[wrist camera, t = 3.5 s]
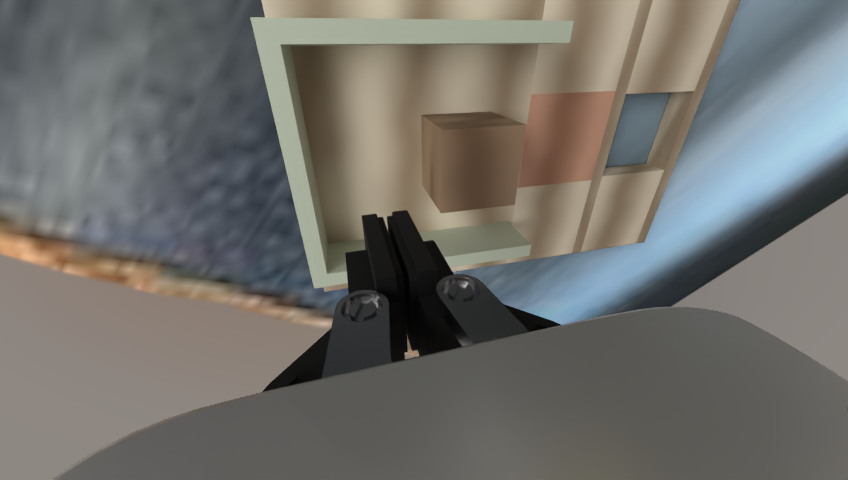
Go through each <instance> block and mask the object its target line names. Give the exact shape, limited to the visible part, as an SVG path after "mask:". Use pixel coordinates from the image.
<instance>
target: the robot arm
mask: <svg viewBox="0 0 848 480" xmlns="http://www.w3.org/2000/svg"><path fill="white" fill-rule="evenodd" d="M362 224H363V232H364V241H365V249H366V250H359V251H352V252H345V257H346V268H347V279H348V290H349V294H348V295H346V296H345V297H343V298H342V299H341V300H340V301H339V302H338V303H337V306H336V308H335V313H334V318H333V323H332V328H331V329H330V330H329V331H328V332H327V333H326V334H324V335H323V336H322V337H321V338H320V339H319V340H318V341H317V342H316V343H314V344H313V345H312V346H311V347H310V348H309V349H308V350H307V351H306V352H305V353H303V354H302V355H301V356H300V357H299V358H298V359H297V360H295V361H294V362H293V363H292V364H291V365H290V366H289V367H288V368H287V369H285V370H284V371H283V372H282V373H281V374H280V375H279V376H278V377H276V378H275V379H274V380H273V381H272V382H271V383H270V384H269V385H268V386H267V387H266V388H265V389H264V390H263V392H261V393H256V394H252V395H249V396H245V397H241V398H237V399H234V400H229V401H226V402H222V403H218V404H214V405H210V406H206V407H203V408H199V409H196V410H192V411H189V412H186V413H183V414H180V415H177V416H174V417H171V418H168V419H165V420H162V421H160V422H157V423H155V424H152V425H150V426H148V427H145V428H143V429H140V430H138V431H135V432H133V433H130V434H129V435H127V436H124V437H122V438H120V439H118V440H116V441H114V442H112V443H111V444H109V445H107V446H105V447H103V448H101V449H99V450H97V451H95V452H93V453H91V454H89V455H88V456H86V457H84V458H82V459H81V460H79V461H77V462H76V463H74V464H72V465H71V466H69V467H68V468H66V469H65V470H63V471H62V472H60V473H59V474H57V475H55V476H54V477H52V478H51V479H50V480H848V381H847V380H845V379H844V378H842V377H840V376H839V375H837V374H836V373H834V372H833V371H831V370H829V369H828V368H826V367H825V366H823V365H821V364H820V363H818V362H817V361H815V360H813V359H812V358H810V357H809V356H807V355H805V354H804V353H802V352H800V351H799V350H797V349H795V348H794V347H792V346H790V345H789V344H787V343H785V342H783V341H782V340H780V339H779V338H777V337H775V336H773V335H772V334H769V333H768V332H766V331H764V330H762V329H761V328H759V327H757V326H755V325H753V324H751V323H749V322H747V321H745V320H743V319H741V318H739V317H736V316H734V315H731V314H727V313H723V312H718V311H713V310H708V309H700V308H689V307H657V308H647V309H639V310H634V311H628V312H623V313H617V314H612V315H606V316H602V317H597V318H592V319H588V320H583V321H578V322H574V323H569V324H564V325H560V324H558V323H556V322H554V321H551V320H548V319H545V318H542V317H539V316H536V315H533V314H530V313H527V312H524V311H521V310H519V309H516V308H513V307H510V306H507V305H504V304H502V303H501V302H500V300H499V299H498V298H497V297H496V296H495V295H494V294H493V293H492V292H491V291H490V290H489V289H488V288H487V287H486V286H485V285H484V284H483V283H482V282H481V281H480V280H478V279H477V278H474V277H472V276H469V275H464V274H455V275H454V274H453V272H452V270H451V268H450V267H449V265H448V263H447V262H446V260H445V258H444V256H443V255H442V253H441V251H440V250H439V248H438V246H437V244H436V243H435V241H434V240H429V241H423V239H422V237H421V236H420V234H419V232H418V230H417V228H416V226H415V224H414V222H413V220H412V218H411V216H410V214H409V213H408V211H407V210H403V211H394V212H392V216H387V225H388V230H387V227H386V224H385V221H384V218H383V217H378V216H377V214H369V215H362ZM407 335H408V339H409V342H410V346H411V349H412V351H414V350H418V352H419V357H414V358H410V359H405V354H404V352H407Z"/></svg>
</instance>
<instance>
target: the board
mask: <svg viewBox="0 0 848 480" xmlns="http://www.w3.org/2000/svg"><path fill="white" fill-rule="evenodd" d="M739 3H740V0H262V5H263V9H264V14H265V18H353V19H449V20H545V21H574V23H573V28H572V33H571V39H570V43H555V44H533V45H382V46H291V51H292V57H293V62H294V67H295V72H296V78H297V83H298V88H299V93H300V99H301V104H302V109H303V114H304V120H305V125H306V130H307V135H308V141H309V146H310V151H311V156H312V162H313V167H314V172H315V178H316V183H317V188H318V193H319V199H320V204H321V209H322V214H323V220H324V225H325V230H326V235H327V241H328V244H331V243H339V242H347V241H355V240H363V239H364V232H363V224H362V215H369V214H377V216H378V217H383V218H384V221H385V224H386V227H387V230H388V225H387V216H392V212H394V211H403V210H407V211H408V213H409V214H410V216H411V218H412V220H413V222H414V224H415V226H416V228H417V230H418V232H426V231H434V230H442V229H450V228H458V227H466V226H474V225H482V224H490V223H498V222H505V221H508V222H509V223H510V224H511V225H512V226H513V227H514V228H515V229H516V230H517V231H518V232H519V233H520V234H521V235H522V236H523V237H524V238H525V239H526V240H527V241H528V242H529V243H530V244H531V249H530V255H529V256H524V257H517V258H510V259H504V260H497V261H491V262H484V263H478V264H471V265H464V266H458V267H451V270H452V272H454V271H460V270H467V269H473V268H480V267H486V266H493V265H499V264H506V263H512V262H518V261H525V260H531V259H538V258H544V257H551V256H557V255H564V254H570V253H577V252H583V251H590V250H596V249H602V248H609V247H615V246H622V245H628V244H635V243H641V242H644V241H645V239H646V236H647V234H648V231H649V228H650V226H651V223H652V221H653V218H654V216H655V213H656V211H657V208H658V206H659V203H660V201H661V198H662V196H663V193H664V191H665V188H666V186H667V183H668V181H669V178H670V176H671V173H672V171H673V168H674V166H675V163H676V161H677V158H678V156H679V153H680V151H681V148H682V146H683V143H684V141H685V138H686V136H687V133H688V131H689V128H690V126H691V123H692V121H693V118H694V116H695V113H696V111H697V108H698V106H699V103H700V101H701V98H702V96H703V93H704V91H705V88H706V85H707V83H708V80H709V78H710V75H711V73H712V70H713V68H714V65H715V63H716V60H717V58H718V55H719V53H720V50H721V48H722V45H723V43H724V40H725V38H726V35H727V33H728V30H729V28H730V25H731V23H732V20H733V18H734V15H735V13H736V10H737V8H738V5H739ZM662 92H671V94H670V97H669V100H668V102H667V105H666V108H665V111H664V114H663V117H662V119H661V122H660V125H659V128H658V131H657V134H656V137H655V139H654V142H653V145H652V148H651V151H650V154H649V157H648V159H647V162H646V164H637V165H626V166H616V167H605V165H606V162H607V159H608V155H609V152H610V148H611V145H612V141H613V138H614V134H615V131H616V127H617V124H618V120H619V117H620V113H621V110H622V106H623V103H624V99H625V96H626V94H639V93H662ZM489 111H491V112H493V113H496V114H499V115H501V116H504V117H507V118H510V119H512V120H515V121H518V122H520V123H523V124H526V131H525V138H524V145H523V152H522V158H521V165H520V172H519V179H518V185H517V192H516V199H515V205H510V206H501V207H492V208H484V209H475V210H467V211H458V212H449V213H440V211H439V210H438V208H437V207H436V205H435V204H434V202H433V201H432V199H431V198H430V196H429V195H428V193H427V192H426V190H425V189H424V187H423V186H422V125H421V115H431V114H450V113H470V112H489ZM344 288H348V283H346V284H339V285H333V286H326V287H324V291H331V290H338V289H344Z"/></svg>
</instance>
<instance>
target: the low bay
mask: <svg viewBox="0 0 848 480" xmlns="http://www.w3.org/2000/svg"><path fill="white" fill-rule="evenodd" d="M250 18H251V22H252V26H253V31H254V35H255V39H256V43H257V48H258V52H259V56H260V60H261V65H262V69H263V73H264V77H265V82H266V86H267V90H268V94H269V98H270V103H271V107H272V111H273V115H274V120H275V124H276V128H277V132H278V137H279V141H280V145H281V149H282V154H283V158H284V162H285V166H286V171H287V175H288V179H289V183H290V188H291V192H292V196H293V200H294V205H295V209H296V213H297V217H298V222H299V226H300V230H301V234H302V238H303V243H304V247H305V251H306V255H307V260H308V264H309V268H310V272H311V277H312V281H313V285H314V288H320V287H326V286H333V285H339V284H346V283H348V279H347V268H346V257H345V252H352V251H359V250H366V249H365V241H364V239H363V240H355V241H347V242H339V243H331V244H328V241H327V235H326V230H325V225H324V220H323V214H322V209H321V204H320V199H319V193H318V188H317V183H316V178H315V172H314V167H313V162H312V156H311V151H310V146H309V141H308V135H307V130H306V125H305V120H304V114H303V109H302V104H301V99H300V93H299V88H298V83H297V78H296V72H295V67H294V62H293V57H292V51H291V46H382V45H533V44H555V43H570V39H571V33H572V28H573V23H574V21H545V20H449V19H353V18H257V17H250ZM419 234H420V236H421V237H422V239H423V241H429V240H434V241H435V243H436V244H437V246H438V248H439V250H440V251H441V253H442V255H443V256H444V258H445V260H446V262H447V263H448V265H449V267H450V268H451V267H458V266H464V265H471V264H478V263H484V262H491V261H497V260H504V259H510V258H517V257H524V256H529V255H530V249H531V244H530V243H529V242H528V241H527V240H526V239H525V238H524V237H523V236H522V235H521V234H520V233H519V232H518V231H517V230H516V229H515V228H514V227H513V226H512V225H511V224H510V223H509V222H508V221H505V222H498V223H490V224H482V225H474V226H466V227H458V228H450V229H442V230H434V231H426V232H419Z"/></svg>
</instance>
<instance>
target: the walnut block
mask: <svg viewBox="0 0 848 480" xmlns="http://www.w3.org/2000/svg"><path fill="white" fill-rule="evenodd" d="M421 125H422V186H423V187H424V189H425V190H426V192H427V193H428V195H429V196H430V198H431V199H432V201H433V202H434V204H435V205H436V207H437V208H438V210H439V211H440V213H449V212H458V211H467V210H475V209H484V208H492V207H501V206H510V205H515V199H516V192H517V185H518V179H519V172H520V165H521V158H522V152H523V145H524V138H525V131H526V124H523V123H520V122H518V121H515V120H512V119H510V118H507V117H504V116H501V115H499V114H496V113H493V112H491V111H489V112H470V113H450V114H431V115H421Z"/></svg>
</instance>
